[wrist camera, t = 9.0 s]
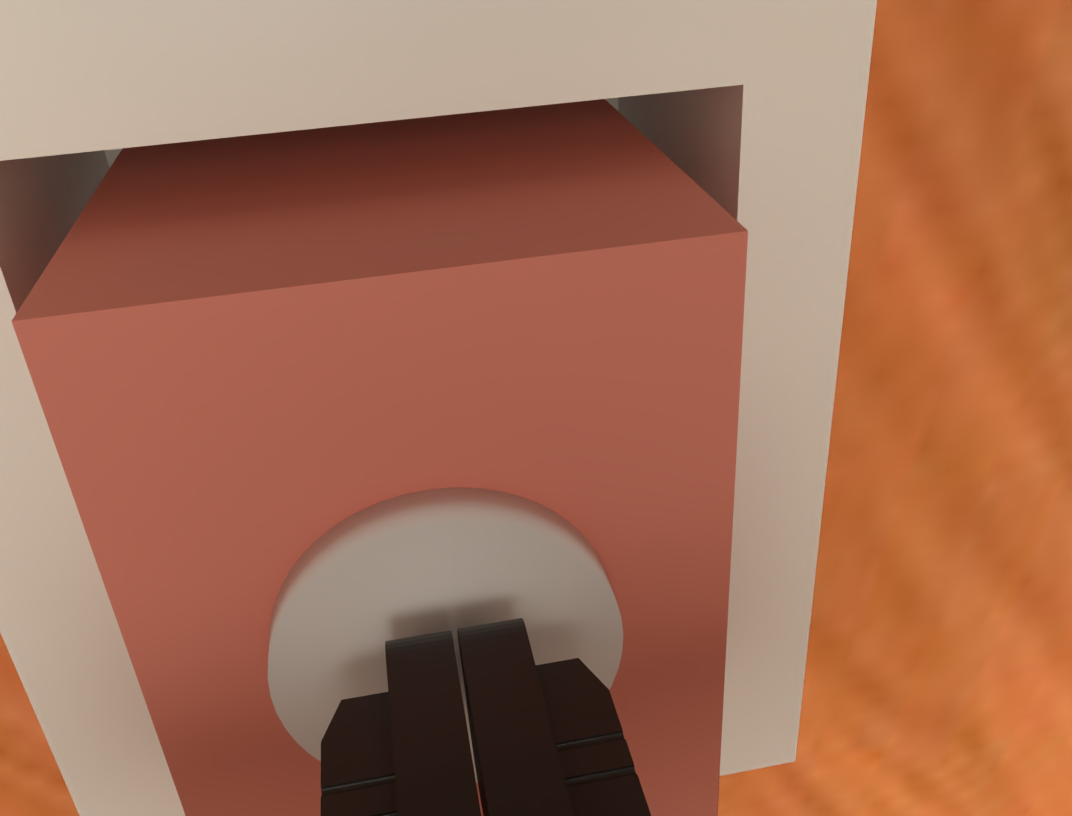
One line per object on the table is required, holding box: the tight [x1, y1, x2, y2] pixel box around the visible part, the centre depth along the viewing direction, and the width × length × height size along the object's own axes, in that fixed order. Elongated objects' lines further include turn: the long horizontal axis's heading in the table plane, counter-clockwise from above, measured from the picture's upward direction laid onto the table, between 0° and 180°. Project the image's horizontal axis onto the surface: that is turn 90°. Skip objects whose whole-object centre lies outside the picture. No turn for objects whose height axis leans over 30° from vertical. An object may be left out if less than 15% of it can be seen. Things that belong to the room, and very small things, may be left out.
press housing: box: [0, 0, 877, 816], centre depth 14 cm, size 12×26×7 cm, turn 4°
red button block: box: [12, 99, 748, 816], centre depth 15 cm, size 7×9×8 cm
